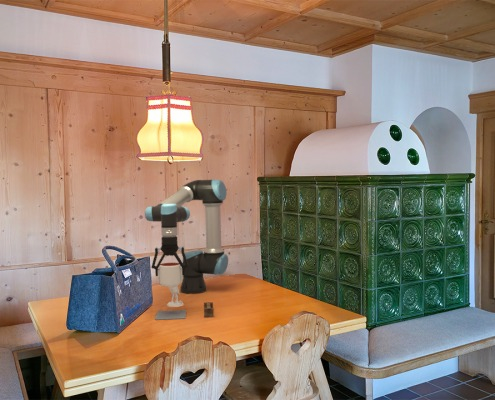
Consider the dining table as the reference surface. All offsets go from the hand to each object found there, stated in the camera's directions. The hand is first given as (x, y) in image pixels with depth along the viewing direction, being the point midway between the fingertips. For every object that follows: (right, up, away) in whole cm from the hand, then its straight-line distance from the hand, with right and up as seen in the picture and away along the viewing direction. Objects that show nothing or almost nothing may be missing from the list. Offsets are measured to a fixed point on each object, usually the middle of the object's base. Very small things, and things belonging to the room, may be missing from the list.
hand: (170, 282), depth 229 cm
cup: (0, -2, 0) cm, 2 cm away
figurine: (-1, -15, +20) cm, 25 cm away
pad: (0, -16, +1) cm, 16 cm away
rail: (+18, -16, +3) cm, 24 cm away
